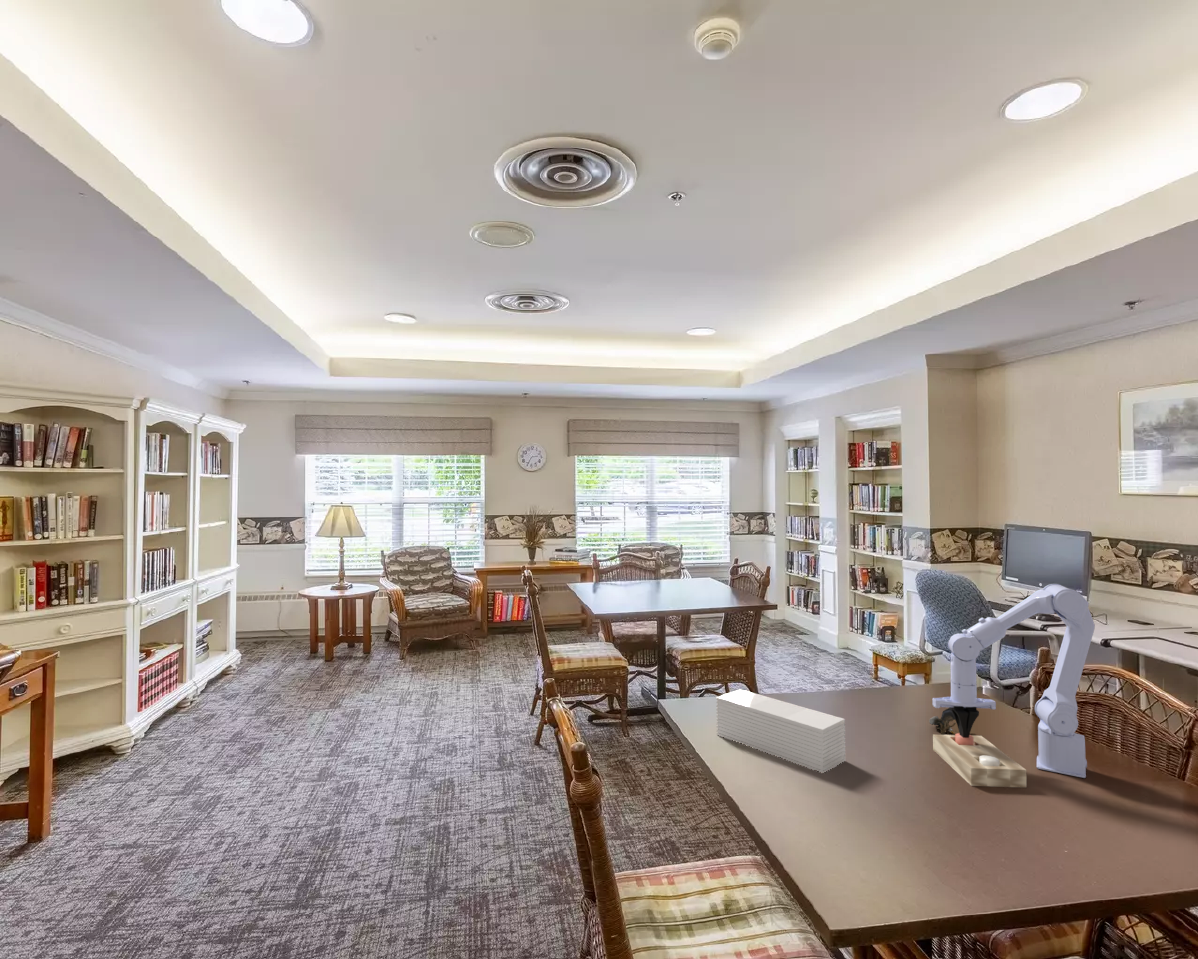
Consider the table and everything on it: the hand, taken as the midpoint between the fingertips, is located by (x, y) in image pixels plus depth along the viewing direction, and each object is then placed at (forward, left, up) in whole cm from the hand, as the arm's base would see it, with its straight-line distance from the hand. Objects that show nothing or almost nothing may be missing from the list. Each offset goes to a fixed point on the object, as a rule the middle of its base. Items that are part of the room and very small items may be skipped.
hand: (964, 736), depth 161 cm
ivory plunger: (-6, +10, -5) cm, 13 cm away
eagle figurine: (+6, -16, -6) cm, 18 cm away
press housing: (-3, +5, -5) cm, 8 cm away
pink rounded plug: (0, 0, -4) cm, 4 cm away
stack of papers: (+41, +21, -6) cm, 46 cm away
